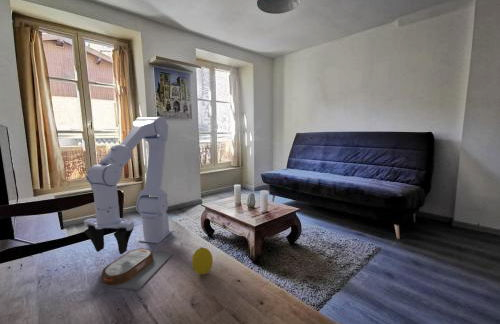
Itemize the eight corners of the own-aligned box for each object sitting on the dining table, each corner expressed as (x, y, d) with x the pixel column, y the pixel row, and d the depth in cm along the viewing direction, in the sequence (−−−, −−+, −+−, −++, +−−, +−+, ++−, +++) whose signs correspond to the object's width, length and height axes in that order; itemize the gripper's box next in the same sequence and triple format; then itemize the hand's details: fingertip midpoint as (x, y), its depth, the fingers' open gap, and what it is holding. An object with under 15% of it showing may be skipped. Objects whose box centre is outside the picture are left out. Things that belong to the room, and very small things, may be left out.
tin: (94, 282, 63) (120, 290, 61) (94, 271, 62) (120, 279, 60) (136, 253, 77) (159, 259, 75) (136, 244, 77) (159, 249, 74)
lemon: (188, 274, 67) (187, 248, 65) (205, 266, 71) (204, 240, 69) (200, 283, 63) (199, 255, 62) (217, 274, 67) (216, 247, 66)
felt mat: (141, 251, 79) (141, 250, 79) (172, 254, 77) (172, 253, 77) (100, 285, 62) (100, 284, 62) (138, 290, 60) (138, 289, 60)
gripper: (72, 209, 65) (78, 256, 67) (119, 212, 63) (124, 261, 65) (93, 201, 72) (98, 243, 74) (137, 204, 69) (140, 248, 72)
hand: (111, 251), depth 70 cm, fingers open, 7 cm apart
